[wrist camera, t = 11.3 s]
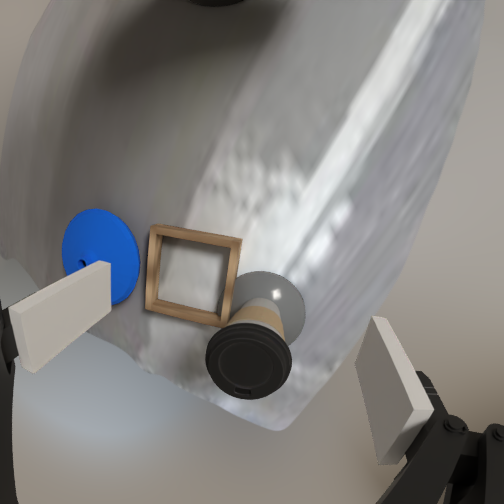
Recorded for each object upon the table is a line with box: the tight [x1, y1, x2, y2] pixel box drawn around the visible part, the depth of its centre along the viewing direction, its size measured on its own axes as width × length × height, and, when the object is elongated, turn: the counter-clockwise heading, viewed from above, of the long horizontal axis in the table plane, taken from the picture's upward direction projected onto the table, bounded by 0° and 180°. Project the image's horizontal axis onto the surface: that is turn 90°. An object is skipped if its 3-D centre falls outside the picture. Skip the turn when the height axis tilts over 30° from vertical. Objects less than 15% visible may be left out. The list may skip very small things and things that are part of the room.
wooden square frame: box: [145, 224, 242, 328], centre depth 44 cm, size 13×13×2 cm
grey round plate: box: [217, 271, 305, 346], centre depth 45 cm, size 13×13×1 cm
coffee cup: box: [205, 298, 292, 400], centre depth 38 cm, size 9×9×15 cm
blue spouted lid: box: [62, 209, 140, 305], centre depth 44 cm, size 16×16×7 cm
